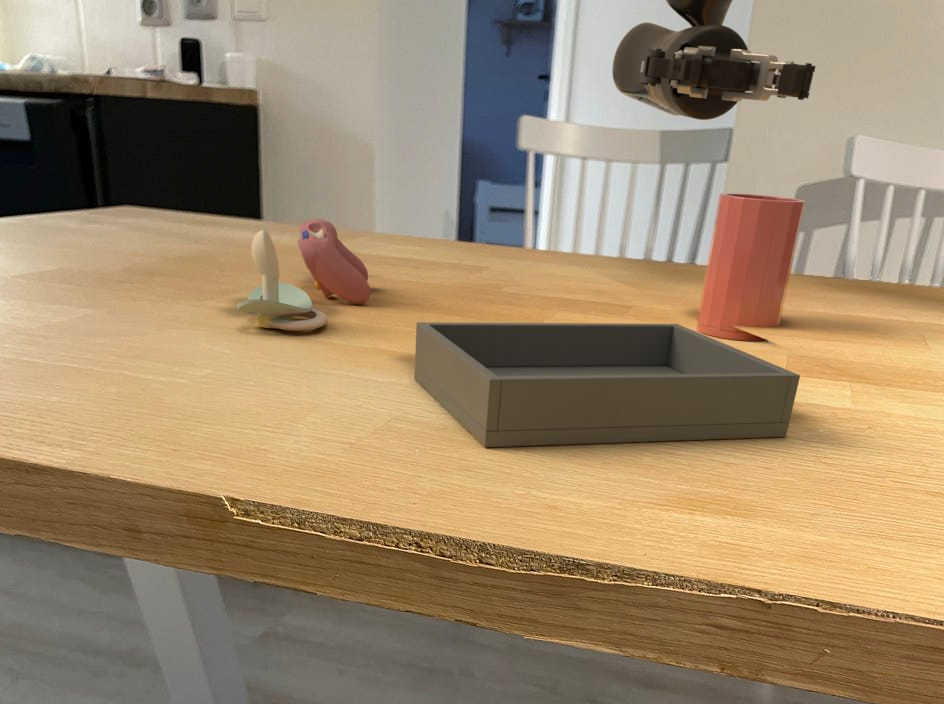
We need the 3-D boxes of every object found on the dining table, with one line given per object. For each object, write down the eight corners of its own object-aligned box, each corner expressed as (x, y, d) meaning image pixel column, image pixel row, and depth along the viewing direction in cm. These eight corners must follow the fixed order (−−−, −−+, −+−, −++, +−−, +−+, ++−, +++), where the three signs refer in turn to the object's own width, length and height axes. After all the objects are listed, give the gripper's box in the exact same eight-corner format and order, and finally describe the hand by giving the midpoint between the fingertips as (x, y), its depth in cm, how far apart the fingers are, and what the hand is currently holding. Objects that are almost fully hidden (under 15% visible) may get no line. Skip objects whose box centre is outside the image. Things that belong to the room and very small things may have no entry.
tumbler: (747, 325, 80) (774, 195, 76) (791, 341, 75) (822, 203, 70) (682, 324, 78) (704, 191, 74) (722, 341, 73) (749, 199, 68)
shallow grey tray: (668, 375, 62) (677, 323, 60) (786, 436, 51) (800, 375, 49) (414, 379, 57) (416, 322, 55) (484, 447, 46) (489, 379, 44)
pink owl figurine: (326, 302, 85) (288, 224, 82) (372, 280, 85) (336, 201, 81) (324, 324, 77) (282, 238, 73) (375, 300, 76) (335, 213, 73)
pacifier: (333, 320, 71) (253, 312, 71) (336, 231, 68) (252, 222, 68) (320, 341, 65) (232, 332, 65) (322, 243, 62) (230, 233, 62)
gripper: (631, 18, 88) (671, 11, 74) (780, 33, 89) (846, 29, 75) (618, 110, 92) (653, 120, 78) (761, 123, 93) (820, 135, 79)
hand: (748, 75), depth 77 cm, fingers open, 8 cm apart
